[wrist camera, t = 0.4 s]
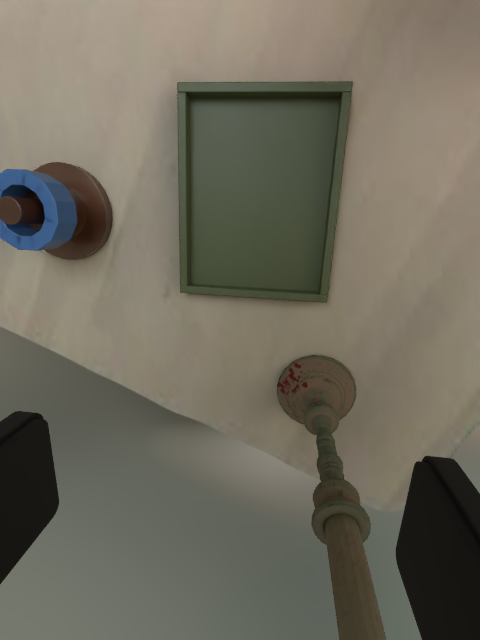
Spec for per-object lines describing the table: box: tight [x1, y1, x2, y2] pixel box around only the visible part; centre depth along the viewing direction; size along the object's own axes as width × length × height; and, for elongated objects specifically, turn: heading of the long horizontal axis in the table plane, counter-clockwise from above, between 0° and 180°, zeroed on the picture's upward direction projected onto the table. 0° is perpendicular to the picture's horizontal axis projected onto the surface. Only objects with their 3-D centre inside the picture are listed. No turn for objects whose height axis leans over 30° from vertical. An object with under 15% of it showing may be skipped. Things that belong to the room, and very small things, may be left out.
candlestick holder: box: [277, 355, 386, 640], centre depth 25 cm, size 9×9×30 cm
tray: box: [177, 82, 353, 302], centre depth 33 cm, size 20×16×2 cm
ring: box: [0, 169, 77, 251], centre depth 32 cm, size 7×7×3 cm
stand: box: [0, 162, 112, 259], centre depth 33 cm, size 10×10×9 cm
